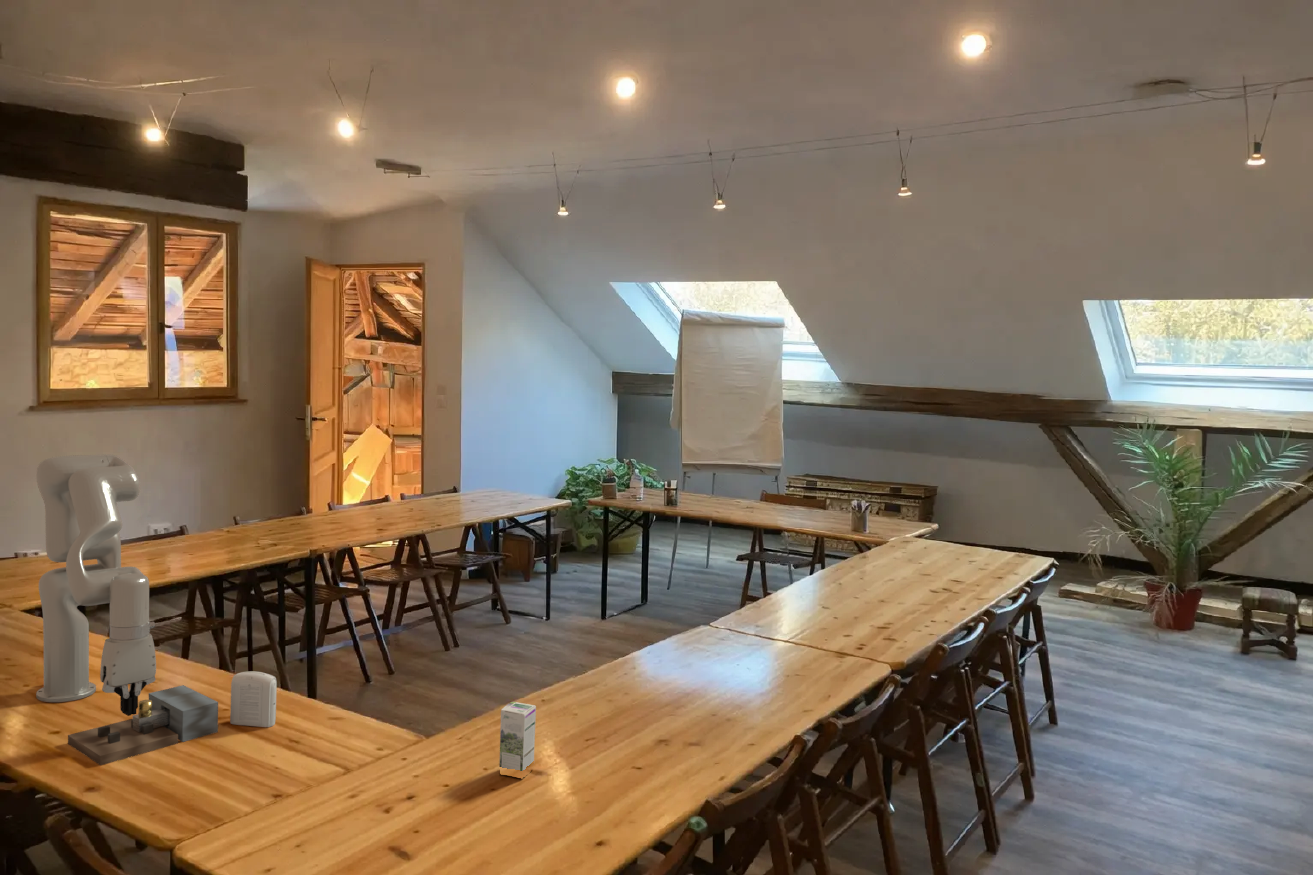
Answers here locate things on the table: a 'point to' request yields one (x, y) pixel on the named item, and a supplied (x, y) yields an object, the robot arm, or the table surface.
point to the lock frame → (151, 727)
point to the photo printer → (253, 699)
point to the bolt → (150, 716)
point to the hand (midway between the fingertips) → (129, 713)
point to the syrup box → (517, 735)
